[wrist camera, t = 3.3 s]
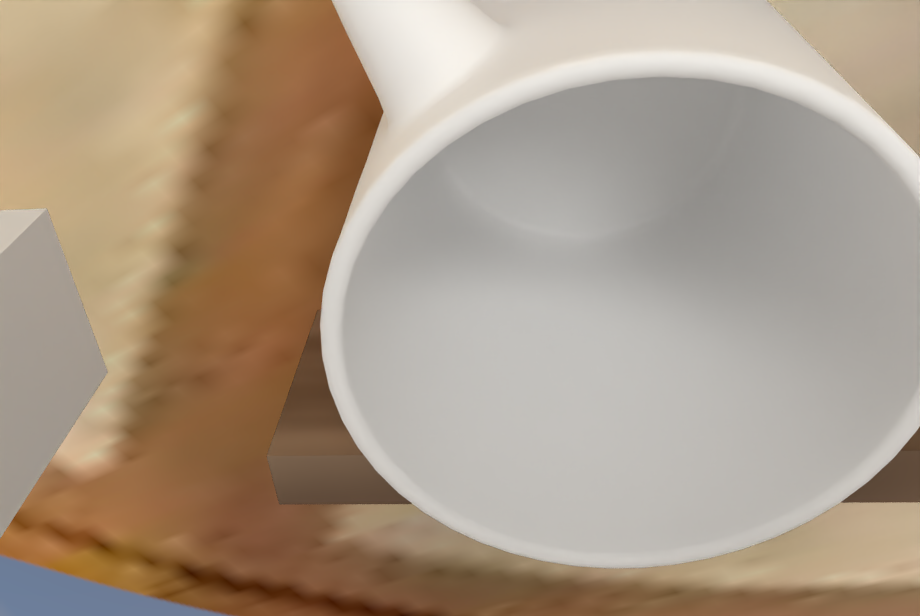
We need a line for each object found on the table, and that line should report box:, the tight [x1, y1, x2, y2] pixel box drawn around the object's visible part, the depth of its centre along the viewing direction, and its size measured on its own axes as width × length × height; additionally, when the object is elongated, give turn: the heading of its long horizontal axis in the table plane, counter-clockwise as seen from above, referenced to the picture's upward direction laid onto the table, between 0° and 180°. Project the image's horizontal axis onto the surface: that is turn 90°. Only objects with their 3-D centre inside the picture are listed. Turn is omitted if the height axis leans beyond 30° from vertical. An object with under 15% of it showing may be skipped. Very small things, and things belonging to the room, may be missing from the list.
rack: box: [267, 310, 920, 504], centre depth 17 cm, size 18×19×6 cm
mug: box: [320, 0, 920, 568], centre depth 15 cm, size 9×12×11 cm
